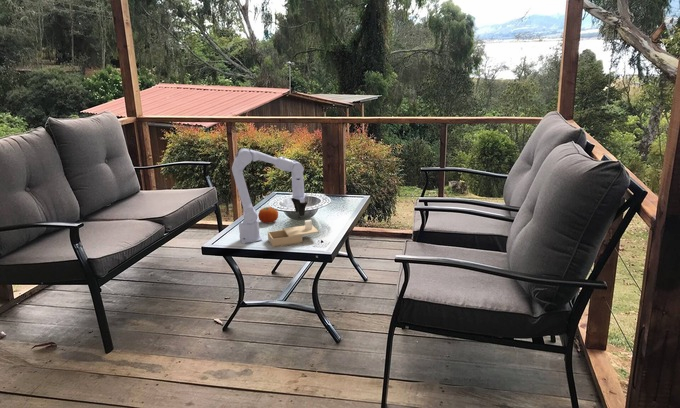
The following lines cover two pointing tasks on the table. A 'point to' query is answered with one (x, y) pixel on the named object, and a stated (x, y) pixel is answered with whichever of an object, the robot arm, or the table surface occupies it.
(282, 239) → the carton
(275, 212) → the fruit
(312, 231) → the lid
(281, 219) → the table surface
